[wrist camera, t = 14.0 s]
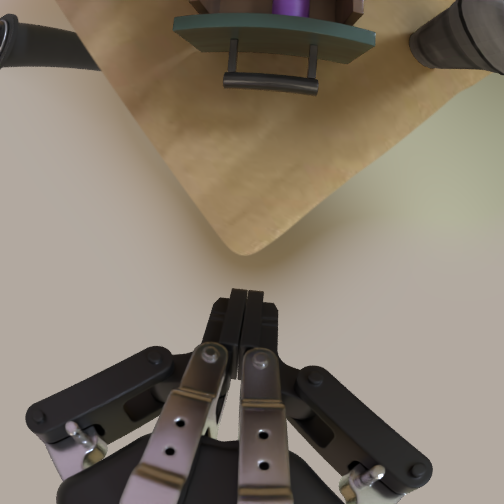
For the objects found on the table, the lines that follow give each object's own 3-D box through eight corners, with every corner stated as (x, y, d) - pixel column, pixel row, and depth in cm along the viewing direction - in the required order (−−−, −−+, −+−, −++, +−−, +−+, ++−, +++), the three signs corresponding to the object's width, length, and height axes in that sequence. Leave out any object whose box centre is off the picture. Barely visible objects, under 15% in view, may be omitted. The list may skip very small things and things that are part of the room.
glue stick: (300, 41, 18) (313, 33, 16) (266, 35, 18) (275, 26, 15) (304, -20, 15) (315, -32, 12) (271, -26, 14) (279, -40, 11)
